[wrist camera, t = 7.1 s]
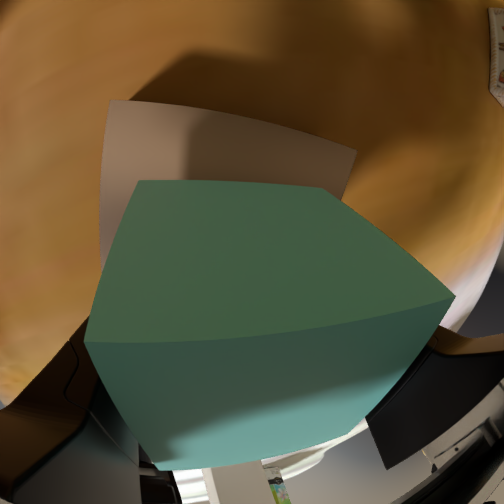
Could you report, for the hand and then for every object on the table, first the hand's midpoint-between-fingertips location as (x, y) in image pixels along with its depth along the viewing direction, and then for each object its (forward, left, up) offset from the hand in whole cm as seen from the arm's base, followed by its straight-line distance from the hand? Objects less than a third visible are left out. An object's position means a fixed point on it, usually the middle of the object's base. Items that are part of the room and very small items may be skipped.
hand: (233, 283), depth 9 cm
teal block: (0, 0, -1) cm, 1 cm away
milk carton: (-36, -3, -7) cm, 37 cm away
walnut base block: (0, 0, -7) cm, 7 cm away
